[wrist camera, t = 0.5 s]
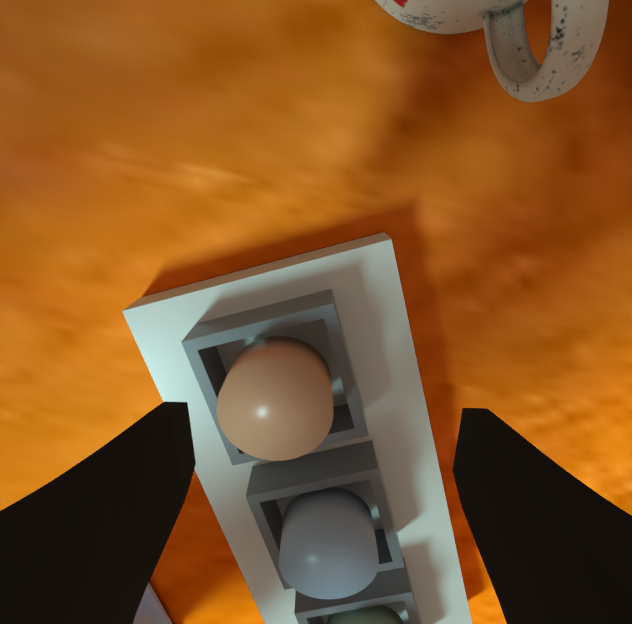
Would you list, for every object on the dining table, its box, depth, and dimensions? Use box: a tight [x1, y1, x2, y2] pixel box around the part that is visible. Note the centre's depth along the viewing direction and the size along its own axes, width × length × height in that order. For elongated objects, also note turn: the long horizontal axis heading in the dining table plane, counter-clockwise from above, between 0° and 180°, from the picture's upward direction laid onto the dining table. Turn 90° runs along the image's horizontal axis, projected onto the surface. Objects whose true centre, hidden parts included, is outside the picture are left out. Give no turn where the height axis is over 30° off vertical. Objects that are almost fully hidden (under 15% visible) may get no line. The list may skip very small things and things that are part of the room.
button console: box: [122, 232, 472, 624], centre depth 21 cm, size 12×25×4 cm, turn 15°
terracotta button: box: [216, 336, 334, 461], centre depth 16 cm, size 4×4×2 cm
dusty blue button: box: [279, 487, 379, 599], centre depth 19 cm, size 4×4×2 cm
